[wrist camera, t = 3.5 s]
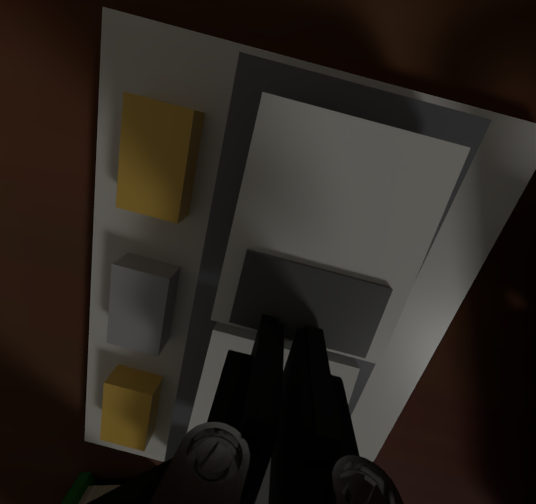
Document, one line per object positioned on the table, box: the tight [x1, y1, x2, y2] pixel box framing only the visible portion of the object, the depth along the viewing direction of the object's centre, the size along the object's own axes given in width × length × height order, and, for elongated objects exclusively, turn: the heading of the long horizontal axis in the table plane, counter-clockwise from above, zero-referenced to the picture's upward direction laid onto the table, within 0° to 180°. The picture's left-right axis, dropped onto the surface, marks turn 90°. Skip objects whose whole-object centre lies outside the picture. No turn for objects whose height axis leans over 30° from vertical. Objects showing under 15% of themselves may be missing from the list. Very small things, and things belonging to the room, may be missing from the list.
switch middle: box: [187, 322, 360, 504], centre depth 13 cm, size 7×6×1 cm
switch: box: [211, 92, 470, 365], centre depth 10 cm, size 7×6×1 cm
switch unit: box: [85, 7, 536, 462], centre depth 17 cm, size 27×20×6 cm
